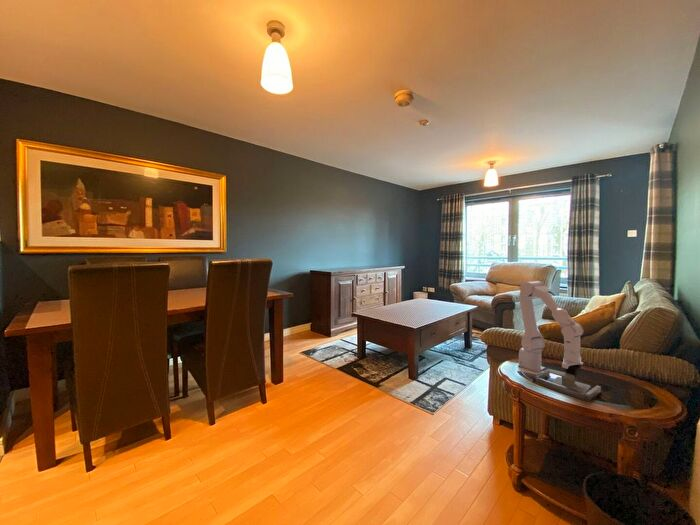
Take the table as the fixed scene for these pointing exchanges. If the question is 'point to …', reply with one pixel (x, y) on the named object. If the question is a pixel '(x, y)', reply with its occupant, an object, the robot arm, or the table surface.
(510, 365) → the table surface
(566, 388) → the mounting bracket
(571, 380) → the shower valve
